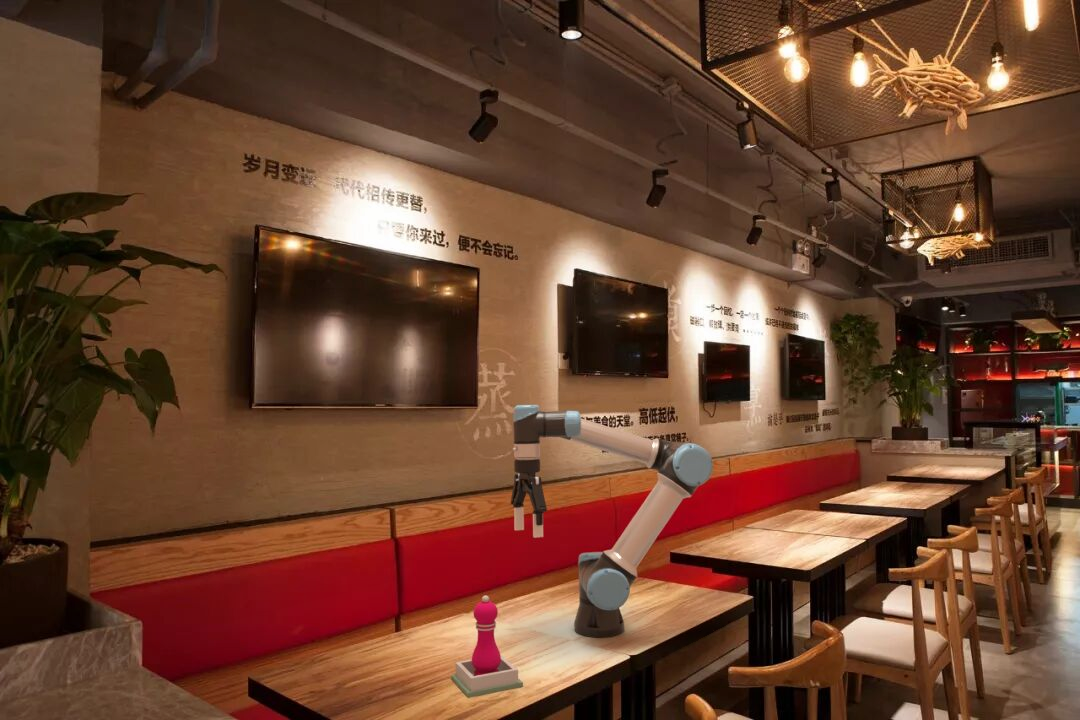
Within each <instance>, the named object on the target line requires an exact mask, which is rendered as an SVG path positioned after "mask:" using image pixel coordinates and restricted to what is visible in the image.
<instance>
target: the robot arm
mask: <svg viewBox="0 0 1080 720" xmlns="http://www.w3.org/2000/svg"><path fill="white" fill-rule="evenodd" d="M512 423H513V426H512V427H513V447H512V450H513V452H514V453H513V455H514V456H513V457H514V458H515V459H514V460H513V468H514V469H513V471H514V472H515V473H514V478H513V479H514V480H513V481H514V482H513V486H512V493H511V498H510V505H512V506H513V509H514V510H513V511H514V512H513V515H514V516H513V517H514V521H513V522H514V523H513V525H514V531H524V530H525V515H524V514H525V512H524V511H525V510H524V507H525V504H524V501H525V498H526V495H528V497H529V500H530V503H531V506H532V508H533V511H532V537H533V538H535V539H536V538H544V513H546V512H547V511H548V509H547V505H546V499H545V495H544V490H543V489H544V488H543V486H542V485H543V484H542V477H541V476H537V475H536V473H539V472H540V471H541V459H540V457H541V443H540V442H541V441H540V439H541V438H560V439H564V440H567V441H572V442H575V443H578V444H582V445H584V446H587V447H590V448H595V449H596V450H599V451H600V450H601V451H603V452H605V453H610V454H613V455H616V456H619V457H623V458H626V459H628V460H629V459H630V460H632V461H636V462H639V463H643V464H645V465H646V467H647V469H650V470H655V471H656V472H657V479H658V480H657V483H656V484H655V485H654V487H652V488H653V489H652V490H651V491H650V492H649V494H648V495H647V497H646V499H645V500H644V502H643V503H641V506H640V507H639V509H638V510H637V512H636V513H635V514H634V515H633V516H632V518H631V520H630V521H629V523H628V525H627V526H626V527H625V529H624V531H623V532H622V534H621V535H620V537H618V539H617V541H616V542H615V544H614V545H613V547H612V548H611V549H607V550H603V551H592V552H582V553H580V554H579V556H578V561H577V562H578V563H577V565H578V589H579V590H578V591H579V592H578V595H579V603H578V608H577V611H576V615H575V618H574V623H573V625H574V626H573V627H574V628H573V631H574V632H576V634H579V635H580V636H584V637H585V636H586V637H591V638H606V637H607V638H608V637H613V636H619V635H620V634H623V632H624V631H625V621H624V618H623V616H622V613H621V609H620V608H621V607H622V606H624V605H625V603H626V602H627V601H628V599H629V597H630V591H631V586H633V583H634V582H635V580H636V578H637V577H638V572H637V571H638V570H637V567H638V566H639V564H640V563H641V562H642V560H643V558H644V557H645V555H646V554H647V553H648V551H649V550H650V548H651V547H652V545H653V544H654V542H655V541H656V540H657V537H658V536H659V535H660V533H661V532H662V531H663V529H664V528H665V526H666V524H668V522H669V521H670V519H671V518H672V516H673V515H674V513H675V512H676V510H677V508H678V507H679V505H680V504H681V503H682V501H683V499H686V498H691V497H692V496H693V494H694V493H695V491H696V490H697V489H698V487H699V486H702V485H704V484H705V483H706V482H707V481H709V480H710V477H711V476H712V474H713V469H714V464H713V458H712V456H711V455H710V453H709V452H708V450H706V449H705V448H704V447H702V446H701V445H699V444H696V443H692V442H688V443H687V442H680V441H679V442H678V441H669V440H664V439H662V438H661V439H660V438H658V437H656V438H654V439H650V438H647V437H644V436H643V437H642V436H640V435H637V434H633V433H630V432H628V431H623V430H620V429H617V428H614V427H610V426H606V425H604V424H600V423H599V422H594V421H590V420H588V419H585V418H582V417H581V413H580V412H579V411H578V410H552V411H551V410H550V411H542V410H541V409H540V406H539V405H538V404H518V405H515V406H514V408H513V419H512Z"/></svg>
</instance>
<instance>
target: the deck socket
mask: <svg viewBox="0 0 1080 720" xmlns="http://www.w3.org/2000/svg"><path fill="white" fill-rule="evenodd" d="M497 669H498V670H499V672H494V673H489V674H483V675H478V676H474V671H475V670H476V669H475V668H474V667H473V665H472V659H467V660H461V661H456V662H455V673H454V674H453V673H452V674H450V675H451V677H450V678H451V680H452V681H453V682H454V683H455V685H456V686H457V688H459V689H460V690H461V691H462V693H463V694H464V695H465V696H466V697H467V698H473V697H478V696H483V695H487V694H493V693H497V692H502V691H503V692H504V691H509V690H514V689H517V688H518V689H519V688H523V687H524V682H523V681H522V680H521V679H519V669H518V668H517V667H516V666H515V665H514V664H512V663H511V662H509V661H508V659H506V658H505V657H504V656H503V655H501V663H500V665H499V666H498V668H497Z"/></svg>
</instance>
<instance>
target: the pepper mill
mask: <svg viewBox="0 0 1080 720" xmlns="http://www.w3.org/2000/svg"><path fill="white" fill-rule="evenodd" d="M498 610H499V609H498V608H497V605H496V604H495V603H494V602H492V601H490V597H489V595H483V596H482V598H481V601H480V602H479V603H477V604H476V605H475V606H474V609H473V617H474V618H473V619H475V620H476V622H475V629H476V630H477V643H476V645H475V647H474V650H473V652H472V656H471V660H472V665H473V667H474V668H475V669H476V670H475V671H474V676H478V675H483V674H489V673H494V672H499V670H498V669H497V668H498V666H499V665H500V663H501V656H502V654H501V653H500V650H499V647H498V645H497V643H496V639H495V629H496V628H497V625H496V624H497V622H496V619H497V617H498V614H499V613H498V612H499V611H498Z"/></svg>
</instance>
